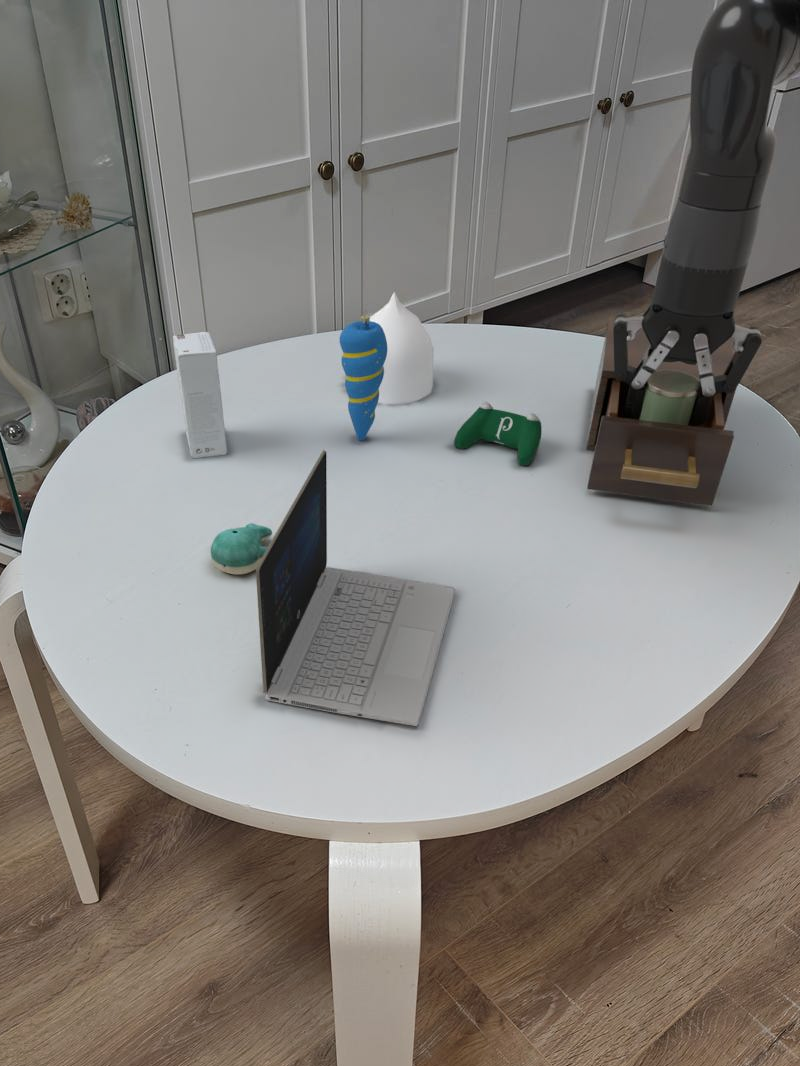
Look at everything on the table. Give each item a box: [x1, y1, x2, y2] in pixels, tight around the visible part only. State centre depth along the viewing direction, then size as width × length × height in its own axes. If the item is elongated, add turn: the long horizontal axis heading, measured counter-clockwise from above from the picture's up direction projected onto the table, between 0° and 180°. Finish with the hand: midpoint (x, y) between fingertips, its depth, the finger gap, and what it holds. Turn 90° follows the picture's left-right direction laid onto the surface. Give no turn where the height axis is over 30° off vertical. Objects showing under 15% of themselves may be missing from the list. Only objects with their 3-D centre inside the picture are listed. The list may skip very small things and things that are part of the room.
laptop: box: [255, 449, 456, 727], centre depth 73 cm, size 18×12×13 cm
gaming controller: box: [453, 401, 542, 467], centre depth 102 cm, size 9×4×6 cm
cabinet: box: [585, 317, 737, 452], centre depth 104 cm, size 16×14×10 cm
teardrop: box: [369, 291, 435, 405], centre depth 112 cm, size 11×11×12 cm
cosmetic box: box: [172, 331, 228, 459], centre depth 100 cm, size 6×4×12 cm
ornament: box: [339, 309, 387, 442], centre depth 100 cm, size 5×5×15 cm
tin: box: [638, 370, 701, 426], centre depth 93 cm, size 5×5×5 cm
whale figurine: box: [210, 523, 273, 575], centre depth 86 cm, size 6×7×4 cm
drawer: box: [586, 378, 735, 507], centre depth 94 cm, size 19×12×8 cm, turn 164°
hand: (662, 422), depth 94 cm, fingers closed on tin, 5 cm apart
